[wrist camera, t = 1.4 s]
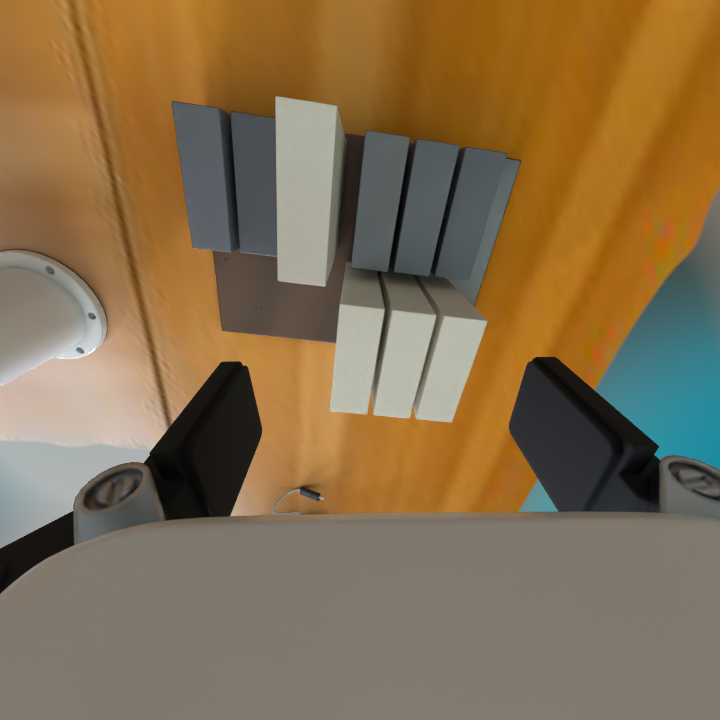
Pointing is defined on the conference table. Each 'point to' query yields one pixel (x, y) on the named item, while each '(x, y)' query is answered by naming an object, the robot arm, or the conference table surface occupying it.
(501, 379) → the conference table surface
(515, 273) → the conference table surface
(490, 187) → the grey books
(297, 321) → the shelf board
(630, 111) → the conference table surface
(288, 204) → the ivory book
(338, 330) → the ivory books
